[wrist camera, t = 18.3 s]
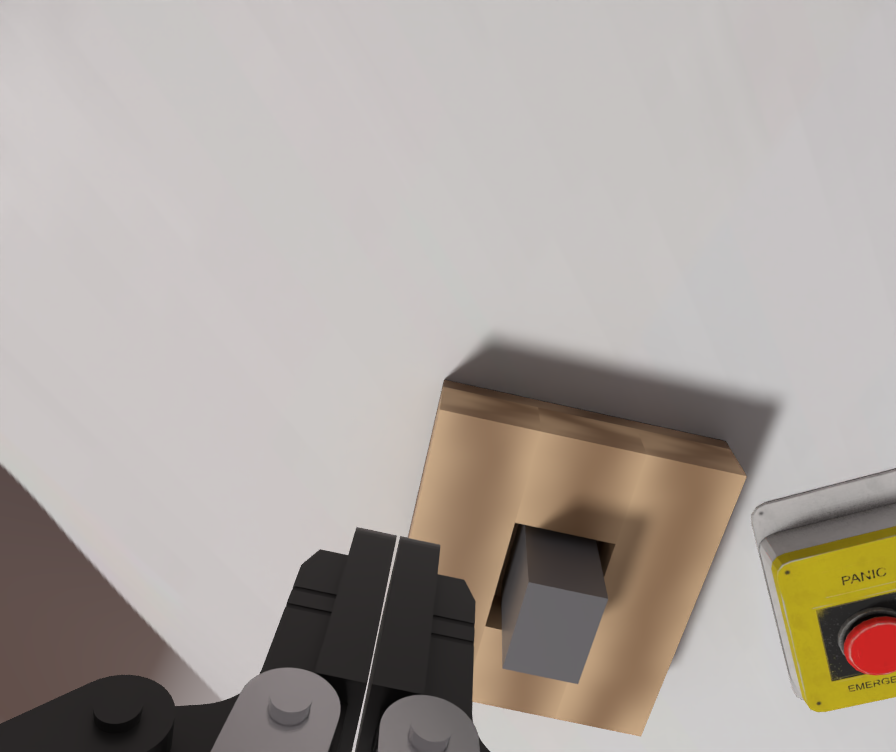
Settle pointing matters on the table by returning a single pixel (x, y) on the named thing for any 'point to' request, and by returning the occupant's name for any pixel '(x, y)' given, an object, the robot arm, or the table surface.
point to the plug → (551, 603)
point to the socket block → (581, 514)
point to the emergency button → (834, 588)
